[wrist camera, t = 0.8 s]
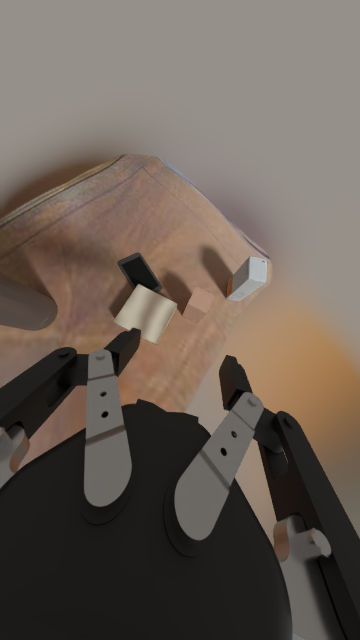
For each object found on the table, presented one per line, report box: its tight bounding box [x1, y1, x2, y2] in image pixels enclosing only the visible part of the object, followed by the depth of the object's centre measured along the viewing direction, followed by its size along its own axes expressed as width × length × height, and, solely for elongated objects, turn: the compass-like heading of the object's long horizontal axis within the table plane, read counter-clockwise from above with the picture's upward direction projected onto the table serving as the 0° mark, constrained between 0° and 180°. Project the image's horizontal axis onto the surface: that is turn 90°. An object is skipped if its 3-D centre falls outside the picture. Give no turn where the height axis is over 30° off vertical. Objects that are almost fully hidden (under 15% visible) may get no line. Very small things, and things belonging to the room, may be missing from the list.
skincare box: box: [226, 256, 267, 301], centre depth 37 cm, size 6×4×12 cm
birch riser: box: [113, 284, 177, 345], centre depth 36 cm, size 11×11×5 cm
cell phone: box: [118, 253, 162, 293], centre depth 41 cm, size 7×14×1 cm, turn 32°
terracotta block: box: [183, 287, 215, 324], centre depth 35 cm, size 4×4×10 cm
